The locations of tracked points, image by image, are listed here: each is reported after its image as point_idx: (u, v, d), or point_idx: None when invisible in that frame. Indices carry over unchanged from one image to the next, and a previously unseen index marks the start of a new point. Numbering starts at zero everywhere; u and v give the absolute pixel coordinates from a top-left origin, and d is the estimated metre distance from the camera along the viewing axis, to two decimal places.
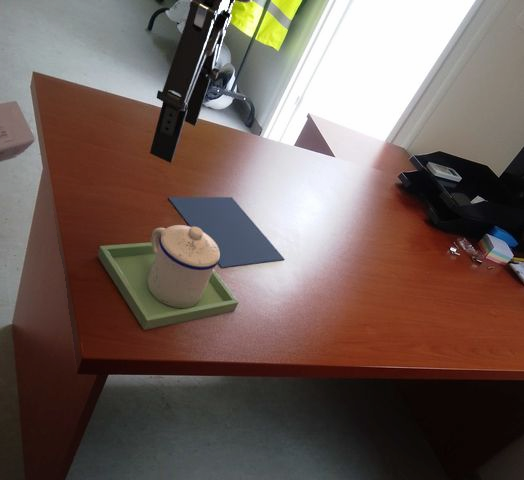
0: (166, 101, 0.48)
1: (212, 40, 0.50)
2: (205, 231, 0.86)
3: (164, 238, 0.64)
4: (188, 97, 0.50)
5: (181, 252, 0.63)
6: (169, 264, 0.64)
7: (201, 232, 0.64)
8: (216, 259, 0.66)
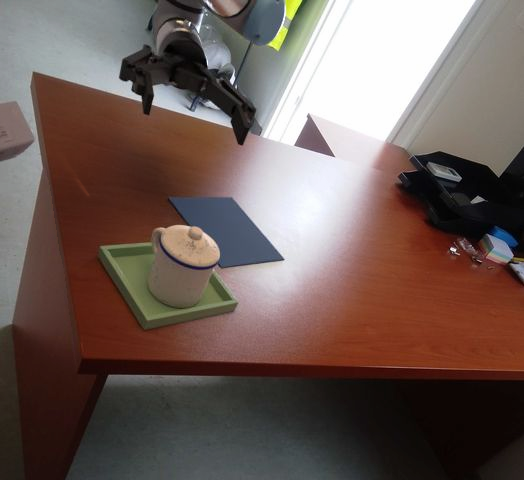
0: (120, 73, 0.62)
1: None
2: (205, 231, 0.86)
3: (164, 238, 0.64)
4: (140, 65, 0.62)
5: (181, 252, 0.63)
6: (169, 264, 0.64)
7: (201, 232, 0.64)
8: (216, 259, 0.66)
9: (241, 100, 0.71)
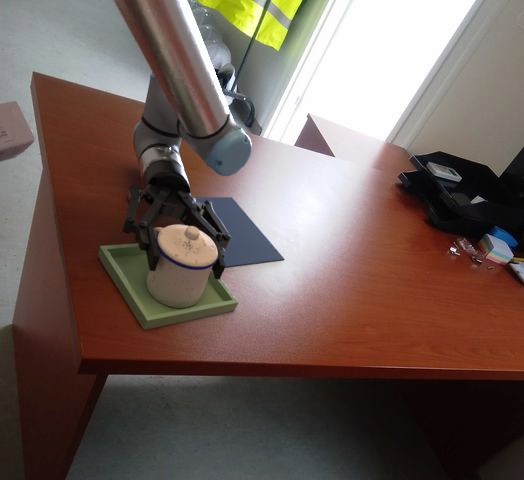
0: (124, 228, 0.66)
1: (156, 198, 0.71)
2: None
3: (161, 238, 0.64)
4: (141, 219, 0.66)
5: (177, 252, 0.63)
6: (166, 264, 0.64)
7: (198, 231, 0.64)
8: (213, 259, 0.65)
9: (217, 227, 0.73)
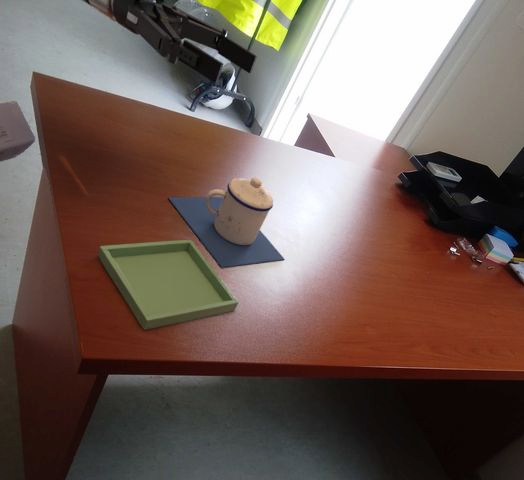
0: (164, 51, 0.65)
1: (158, 15, 0.69)
2: (205, 231, 0.86)
3: (242, 197, 0.81)
4: (172, 35, 0.66)
5: (260, 202, 0.82)
6: (254, 214, 0.83)
7: (260, 180, 0.83)
8: (270, 194, 0.86)
9: (210, 28, 0.78)
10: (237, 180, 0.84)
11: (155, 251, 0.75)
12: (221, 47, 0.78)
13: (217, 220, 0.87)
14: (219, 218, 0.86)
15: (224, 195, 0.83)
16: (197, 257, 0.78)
